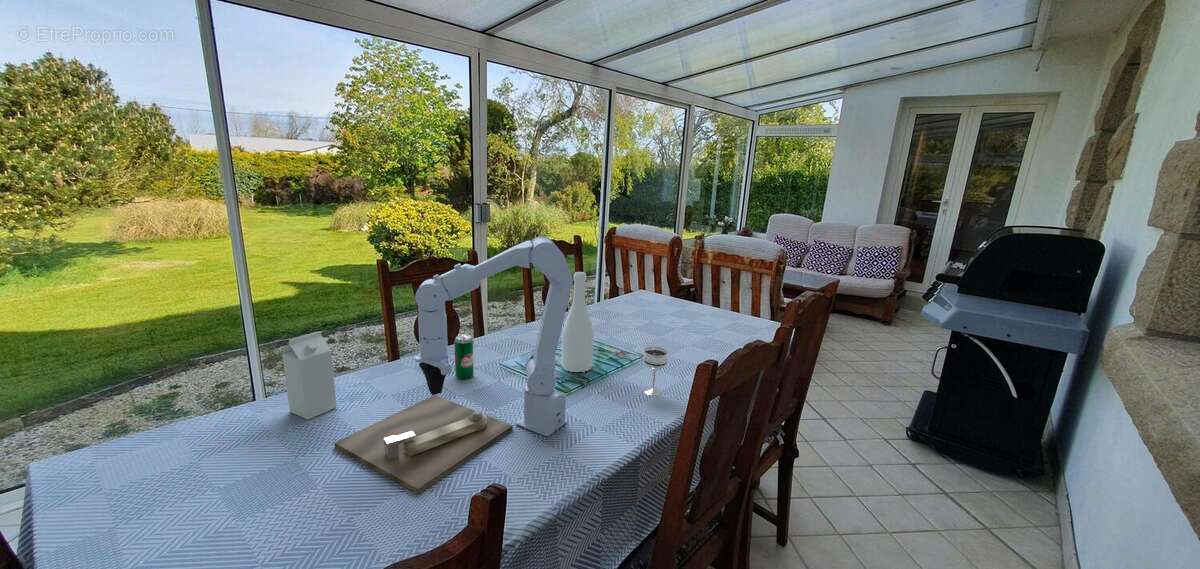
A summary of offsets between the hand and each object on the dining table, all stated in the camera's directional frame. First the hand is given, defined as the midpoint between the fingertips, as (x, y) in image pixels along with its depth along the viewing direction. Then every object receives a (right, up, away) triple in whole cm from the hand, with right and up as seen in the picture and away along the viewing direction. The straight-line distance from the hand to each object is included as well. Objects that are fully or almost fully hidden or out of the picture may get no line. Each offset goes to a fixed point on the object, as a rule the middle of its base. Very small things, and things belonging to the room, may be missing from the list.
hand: (435, 392), depth 101 cm
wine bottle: (+29, -2, +39) cm, 49 cm away
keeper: (-4, -10, -8) cm, 14 cm away
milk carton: (-33, -6, +8) cm, 34 cm away
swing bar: (+4, -9, -3) cm, 10 cm away
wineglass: (+51, -6, +26) cm, 58 cm away
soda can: (-3, -3, +30) cm, 30 cm away
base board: (-1, -10, -1) cm, 10 cm away
